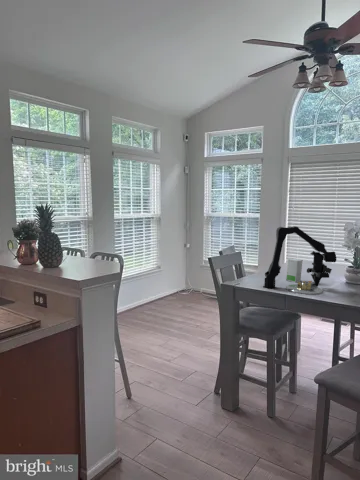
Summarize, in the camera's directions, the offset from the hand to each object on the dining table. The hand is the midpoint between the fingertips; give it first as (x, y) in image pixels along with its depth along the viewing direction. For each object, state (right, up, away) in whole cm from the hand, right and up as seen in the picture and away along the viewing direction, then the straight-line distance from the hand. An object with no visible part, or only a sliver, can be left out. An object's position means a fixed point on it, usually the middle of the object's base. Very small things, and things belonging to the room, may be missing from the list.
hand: (316, 286), depth 226 cm
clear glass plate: (-9, -2, -2) cm, 9 cm away
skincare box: (-7, 0, +24) cm, 25 cm away
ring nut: (-6, -1, 0) cm, 6 cm away
